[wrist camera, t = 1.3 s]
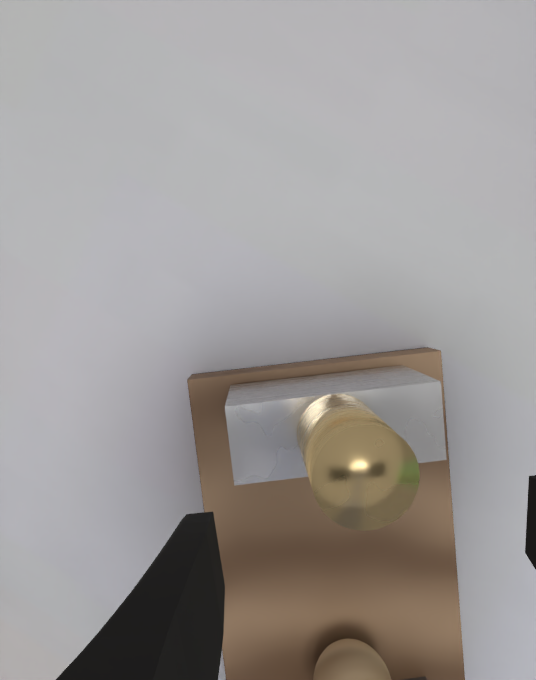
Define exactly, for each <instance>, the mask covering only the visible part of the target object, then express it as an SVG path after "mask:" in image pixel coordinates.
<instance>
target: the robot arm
mask: <svg viewBox="0 0 536 680" xmlns="http://www.w3.org/2000/svg"><path fill="white" fill-rule="evenodd" d="M525 553H526V555H527V556H528V558H529V559H530V561H531V563H532V564H533V566H534V568H535V569H536V475H535V476H529V489H528V509H527V529H526V548H525ZM224 606H225V583H224V577H223V570H222V564H221V558H220V551H219V545H218V539H217V533H216V526H215V520H214V514H213V512H204V513H195V514H186V516H185V517H184V518H183V519H182V521H181V522H180V524H179V525H178V526H177V528H176V529H175V531H174V532H173V534H172V535H171V537H170V538H169V540H168V541H167V543H166V544H165V546H164V547H163V549H162V550H161V552H160V553H159V554H158V556H157V557H156V559H155V560H154V562H153V563H152V564H151V566H150V567H149V568H148V570H147V571H146V573H145V574H144V575H143V577H142V578H141V579H140V581H139V582H138V584H137V585H136V586H135V588H134V589H133V590H132V592H131V593H130V594H129V595H128V597H127V598H126V599H125V600H124V602H123V603H122V604H121V605H120V607H119V608H118V609H117V610H116V612H115V613H114V614H113V615H112V617H111V618H110V619H109V620H108V622H107V623H106V624H105V625H104V626H103V628H102V629H101V630H100V631H99V632H98V634H97V635H96V636H95V637H94V638H93V639H92V641H91V642H90V643H89V644H88V645H87V646H86V647H85V649H84V650H83V651H82V652H81V653H80V654H79V655H78V656H77V658H76V659H75V660H74V661H73V662H72V663H71V664H70V665H69V666H68V667H67V668H66V669H65V670H64V672H63V673H62V674H61V675H60V676H59V677H58V678H57V679H56V680H218V673H219V666H220V658H221V651H222V643H223V634H224Z"/></svg>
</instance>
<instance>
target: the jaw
mask: <svg viewBox="0 0 536 680" xmlns="http://www.w3.org/2000/svg"><path fill="white" fill-rule="evenodd" d="M225 413H226V421H227V430H228V438H229V446H230V454H231V462H232V470H233V479H234V486H235V485H243V484H251V483H260V482H268V481H276V480H284V479H293V478H301V477H309V480H310V483H311V487H312V490H313V493H314V496H315V499H316V501H317V503H318V505H319V507H320V508H321V510H322V511H323V512H324V513H325V514H326V516H328V517H329V518H330V519H331V520H332V521H334V522H335V523H337V524H339V525H341V526H343V527H346V528H349V529H353V530H361V531H366V530H375V529H379V528H382V527H385V526H387V525H389V524H391V523H393V522H394V521H396V520H397V519H399V518H400V517H401V516H402V515H403V514H404V513H405V512H406V511H407V510H408V508H409V507H410V506H411V504H412V502H413V501H414V499H415V496H416V494H417V491H418V487H419V480H420V472H419V465H418V463H425V462H433V461H441V460H447V458H446V445H445V431H444V417H443V404H442V390H441V381H439V380H436V379H434V378H432V377H429V376H427V375H425V374H422V373H420V372H418V371H415V370H413V369H410V368H408V367H406V366H403V365H401V366H392V367H383V368H375V369H366V370H357V371H349V372H340V373H331V374H323V375H314V376H305V377H297V378H288V379H279V380H271V381H262V382H253V383H245V384H236V385H231V386H230V389H229V393H228V396H227V400H226V404H225Z"/></svg>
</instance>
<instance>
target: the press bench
mask: <svg viewBox="0 0 536 680" xmlns="http://www.w3.org/2000/svg"><path fill="white" fill-rule="evenodd" d="M401 365H403V366H406V367H408V368H410V369H413V370H415V371H418V372H420V373H422V374H425V375H427V376H429V377H432V378H434V379H436V380H439V381H441V390H442V404H443V417H444V431H445V445H446V458H447V460H441V461H433V462H425V463H418V465H419V472H420V480H419V487H418V491H417V494H416V496H415V499H414V501H413V502H412V504H411V506H410V507H409V508H408V510H407V511H406V512H405V513H404V514H403V515H402V516H401V517H400V518H399V519H397V520H396V521H394V522H393V523H391V524H389V525H387V526H385V527H382V528H379V529H375V530H366V531H361V530H353V529H349V528H346V527H343V526H341V525H339V524H337V523H335V522H334V521H332V520H331V519H330V518H329V517H328V516H326V514H325V513H324V512H323V511H322V510H321V508H320V507H319V505H318V503H317V501H316V499H315V496H314V493H313V490H312V487H311V483H310V480H309V477H301V478H293V479H284V480H276V481H268V482H260V483H251V484H243V485H235V486H234V479H233V470H232V462H231V454H230V446H229V438H228V430H227V421H226V413H225V404H226V400H227V396H228V393H229V389H230V386H231V385H236V384H245V383H253V382H262V381H271V380H279V379H288V378H297V377H305V376H314V375H323V374H331V373H340V372H349V371H357V370H366V369H375V368H383V367H392V366H401ZM187 382H188V389H189V397H190V405H191V412H192V420H193V428H194V435H195V443H196V451H197V458H198V466H199V474H200V482H201V489H202V497H203V505H204V512H213V514H214V520H215V526H216V533H217V539H218V545H219V551H220V558H221V564H222V570H223V577H224V583H225V606H224V634H223V643H222V651H223V659H224V666H225V674H226V680H465V676H464V662H463V648H462V634H461V621H460V607H459V593H458V579H457V566H456V552H455V538H454V524H453V511H452V497H451V483H450V469H449V456H448V442H447V428H446V415H445V401H444V387H443V373H442V360H441V351H440V350H436V349H432V348H428V347H427V348H419V349H410V350H401V351H392V352H384V353H375V354H366V355H357V356H349V357H340V358H331V359H323V360H314V361H305V362H296V363H288V364H279V365H270V366H261V367H253V368H244V369H235V370H227V371H218V372H209V373H200V374H192V375H191V376H190V377H189V379H188V380H187Z"/></svg>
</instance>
